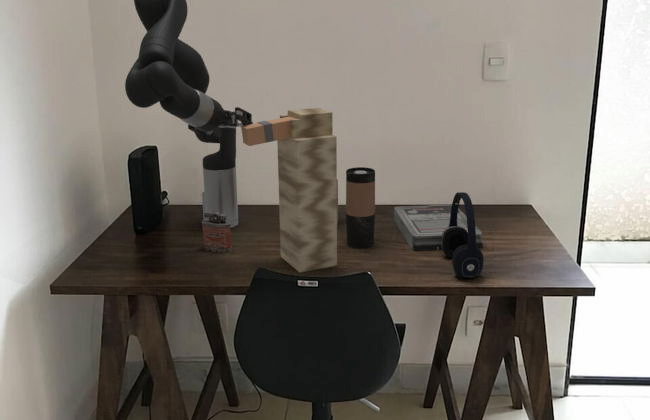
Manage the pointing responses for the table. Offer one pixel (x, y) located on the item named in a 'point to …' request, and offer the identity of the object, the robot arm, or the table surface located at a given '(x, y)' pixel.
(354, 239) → the travel mug
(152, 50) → the robot arm
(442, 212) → the hard drive
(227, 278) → the table surface
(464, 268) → the headphones
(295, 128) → the socket tower
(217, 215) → the lighter
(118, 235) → the table surface
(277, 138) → the bar
